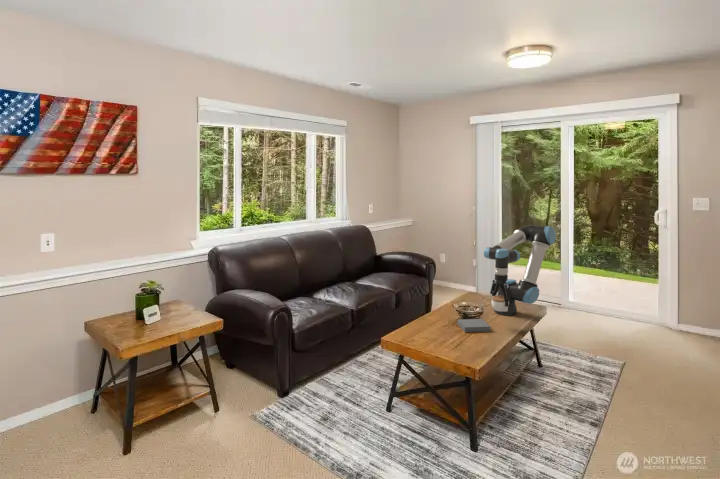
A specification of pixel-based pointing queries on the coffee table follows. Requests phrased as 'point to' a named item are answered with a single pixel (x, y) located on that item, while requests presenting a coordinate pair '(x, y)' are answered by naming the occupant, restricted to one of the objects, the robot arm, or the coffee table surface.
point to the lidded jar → (497, 302)
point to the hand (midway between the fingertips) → (499, 308)
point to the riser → (473, 325)
